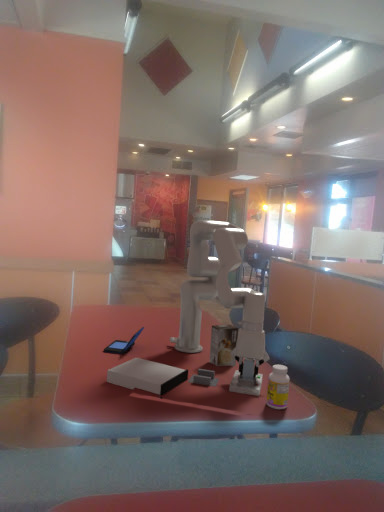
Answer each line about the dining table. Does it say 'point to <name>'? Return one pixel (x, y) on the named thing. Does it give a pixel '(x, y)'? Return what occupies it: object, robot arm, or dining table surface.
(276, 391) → the supplement bottle
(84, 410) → the dining table surface
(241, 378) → the port panel
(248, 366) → the plug
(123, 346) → the handheld game console
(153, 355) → the dining table surface
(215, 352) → the coffee box
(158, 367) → the disc drive
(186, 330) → the robot arm
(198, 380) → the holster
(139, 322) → the dining table surface
